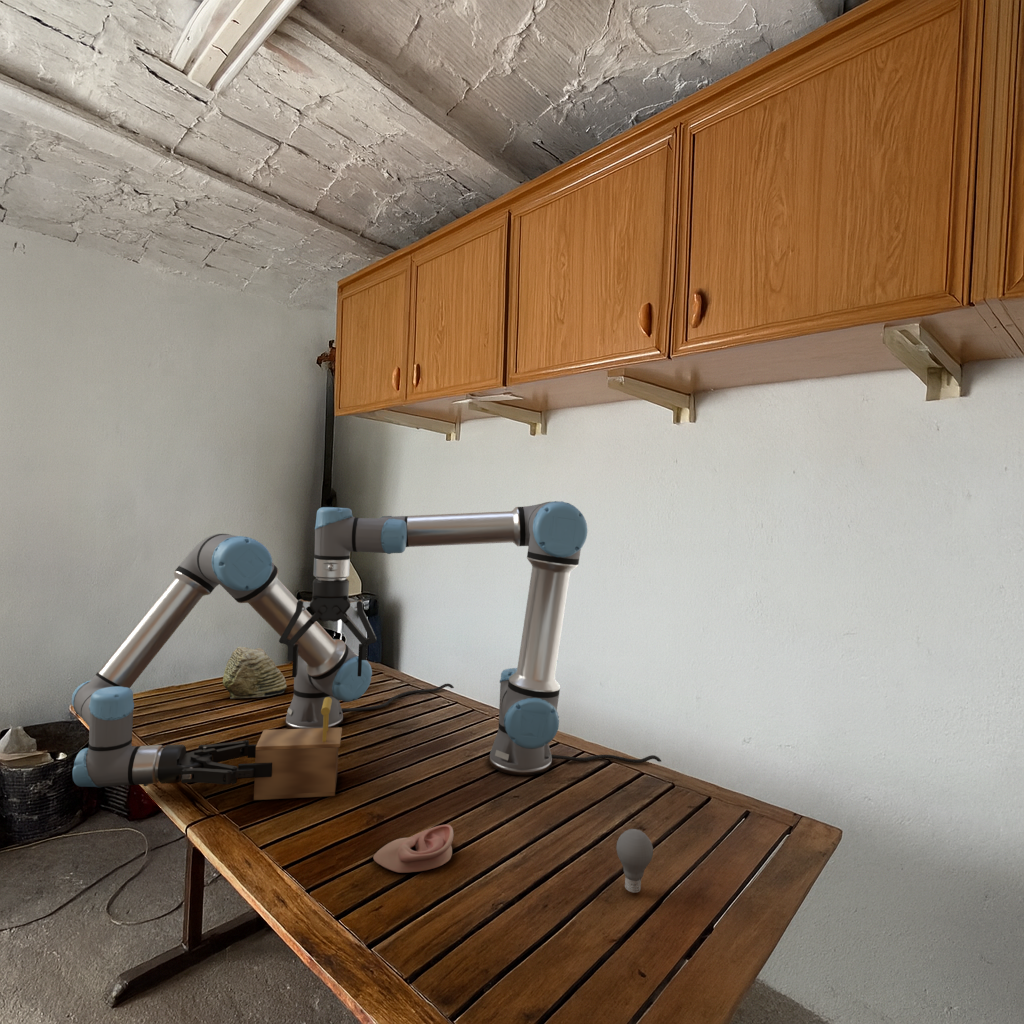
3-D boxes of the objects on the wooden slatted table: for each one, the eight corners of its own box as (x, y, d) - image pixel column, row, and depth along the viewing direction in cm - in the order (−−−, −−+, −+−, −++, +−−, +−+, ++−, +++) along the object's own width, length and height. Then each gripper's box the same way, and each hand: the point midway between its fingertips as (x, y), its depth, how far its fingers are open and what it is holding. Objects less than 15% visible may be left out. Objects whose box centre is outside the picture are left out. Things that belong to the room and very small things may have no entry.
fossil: (218, 695, 195) (220, 647, 195) (278, 685, 208) (279, 640, 207) (228, 703, 189) (230, 653, 188) (289, 692, 201) (290, 645, 201)
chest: (337, 776, 144) (339, 731, 144) (334, 795, 134) (336, 747, 134) (261, 779, 140) (263, 733, 140) (253, 800, 131) (255, 750, 131)
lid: (341, 730, 144) (343, 694, 144) (339, 747, 134) (341, 708, 134) (263, 733, 140) (264, 696, 140) (255, 750, 131) (257, 710, 131)
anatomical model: (366, 844, 109) (392, 812, 120) (365, 867, 109) (391, 833, 120) (440, 856, 106) (459, 823, 117) (439, 880, 106) (458, 844, 117)
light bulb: (610, 879, 108) (613, 822, 108) (644, 879, 109) (647, 822, 109) (619, 902, 102) (622, 840, 102) (655, 901, 103) (658, 840, 103)
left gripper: (177, 760, 142) (282, 755, 147) (142, 808, 121) (266, 801, 125) (178, 727, 142) (283, 723, 147) (143, 769, 121) (267, 763, 125)
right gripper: (267, 579, 131) (263, 681, 132) (390, 581, 137) (385, 679, 137) (273, 574, 139) (269, 671, 139) (389, 577, 144) (385, 669, 144)
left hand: (275, 759), depth 136 cm, fingers closed on chest, 10 cm apart
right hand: (327, 675), depth 138 cm, fingers open, 13 cm apart
